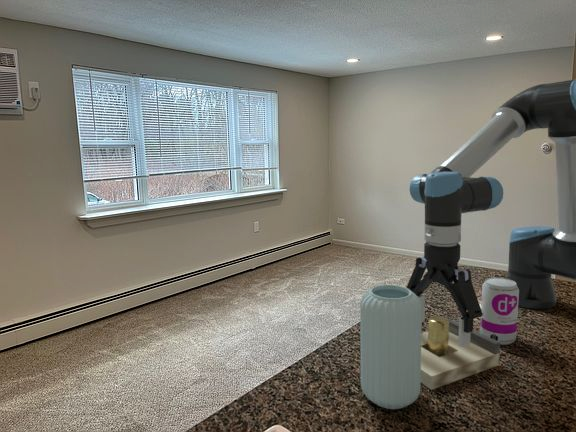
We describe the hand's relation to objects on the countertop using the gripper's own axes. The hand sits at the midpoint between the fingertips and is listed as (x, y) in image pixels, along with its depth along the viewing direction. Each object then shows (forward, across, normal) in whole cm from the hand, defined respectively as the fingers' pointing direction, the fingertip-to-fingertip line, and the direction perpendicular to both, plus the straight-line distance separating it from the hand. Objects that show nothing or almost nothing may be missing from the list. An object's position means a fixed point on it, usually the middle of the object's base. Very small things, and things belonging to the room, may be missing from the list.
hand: (440, 332), depth 96 cm
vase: (+7, +6, -19) cm, 21 cm away
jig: (+7, 0, 0) cm, 7 cm away
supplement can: (+7, -1, +21) cm, 22 cm away
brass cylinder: (+7, 0, -1) cm, 7 cm away
